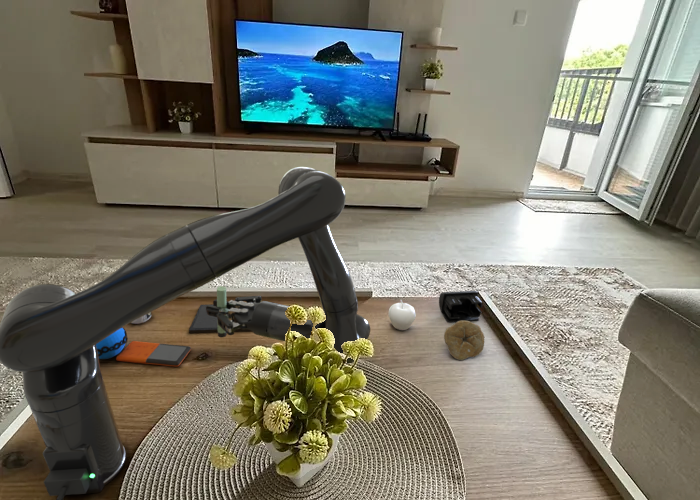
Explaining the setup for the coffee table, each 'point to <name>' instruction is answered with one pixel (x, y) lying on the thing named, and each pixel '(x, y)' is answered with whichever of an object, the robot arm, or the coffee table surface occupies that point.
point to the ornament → (112, 344)
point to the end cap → (460, 306)
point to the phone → (154, 353)
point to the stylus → (221, 303)
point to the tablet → (206, 322)
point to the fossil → (464, 340)
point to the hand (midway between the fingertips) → (211, 306)
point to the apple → (401, 315)
